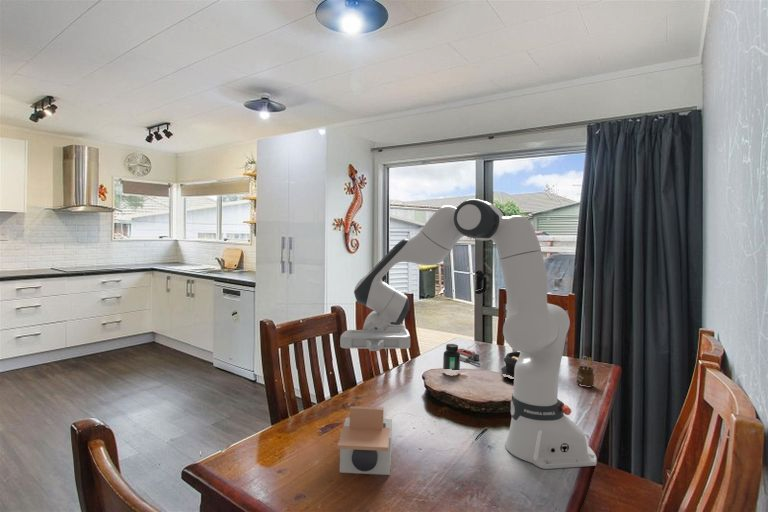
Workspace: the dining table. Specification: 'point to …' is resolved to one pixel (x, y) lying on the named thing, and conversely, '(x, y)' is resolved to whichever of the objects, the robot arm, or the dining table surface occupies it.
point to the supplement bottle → (451, 357)
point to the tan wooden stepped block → (365, 430)
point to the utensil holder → (585, 374)
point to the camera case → (366, 457)
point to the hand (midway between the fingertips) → (374, 348)
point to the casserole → (510, 363)
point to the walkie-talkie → (468, 355)
